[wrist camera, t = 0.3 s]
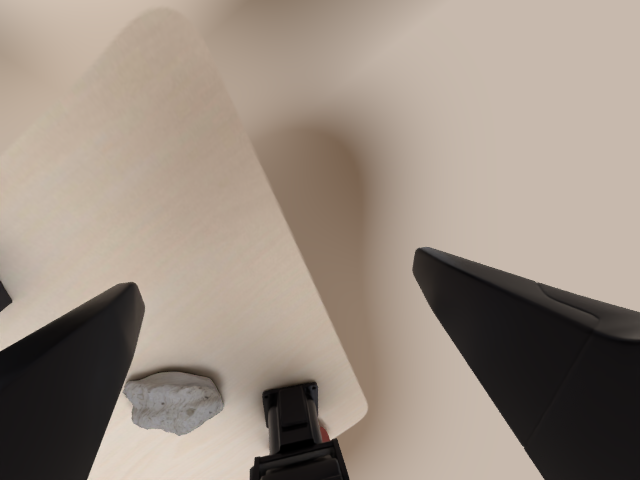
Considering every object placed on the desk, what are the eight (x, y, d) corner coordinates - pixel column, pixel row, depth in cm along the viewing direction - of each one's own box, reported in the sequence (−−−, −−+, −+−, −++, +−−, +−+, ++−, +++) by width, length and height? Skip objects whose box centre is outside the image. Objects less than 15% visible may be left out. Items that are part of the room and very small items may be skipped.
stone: (83, 415, 26) (173, 393, 23) (117, 369, 30) (195, 347, 27) (154, 463, 30) (234, 448, 28) (174, 417, 34) (245, 401, 32)
